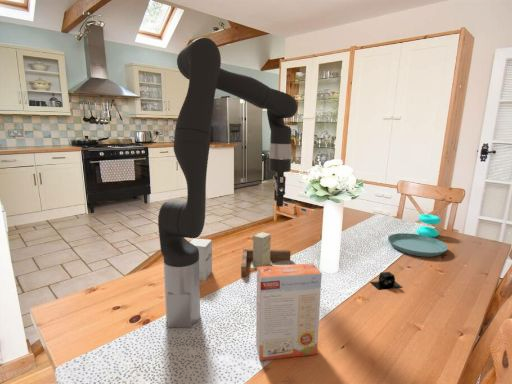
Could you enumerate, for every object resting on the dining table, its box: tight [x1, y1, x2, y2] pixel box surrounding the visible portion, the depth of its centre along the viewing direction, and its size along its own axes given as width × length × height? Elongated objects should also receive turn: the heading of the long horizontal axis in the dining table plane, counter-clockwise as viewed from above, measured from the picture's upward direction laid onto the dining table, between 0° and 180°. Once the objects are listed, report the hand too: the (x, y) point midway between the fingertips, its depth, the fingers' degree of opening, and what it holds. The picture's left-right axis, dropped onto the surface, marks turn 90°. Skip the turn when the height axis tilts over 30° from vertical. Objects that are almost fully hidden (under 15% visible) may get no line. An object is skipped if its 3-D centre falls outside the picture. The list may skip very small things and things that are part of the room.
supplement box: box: [189, 238, 213, 282], centre depth 107 cm, size 7×7×13 cm
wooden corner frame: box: [240, 248, 292, 278], centre depth 115 cm, size 16×19×4 cm
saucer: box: [387, 232, 448, 258], centre depth 138 cm, size 24×24×3 cm
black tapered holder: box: [369, 271, 404, 291], centre depth 104 cm, size 12×7×5 cm, turn 101°
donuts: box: [416, 213, 442, 238], centre depth 156 cm, size 10×10×10 cm
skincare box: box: [252, 231, 272, 267], centre depth 116 cm, size 6×4×12 cm
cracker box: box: [255, 263, 322, 361], centre depth 71 cm, size 14×6×21 cm, turn 99°
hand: (278, 203), depth 106 cm, fingers open, 8 cm apart
